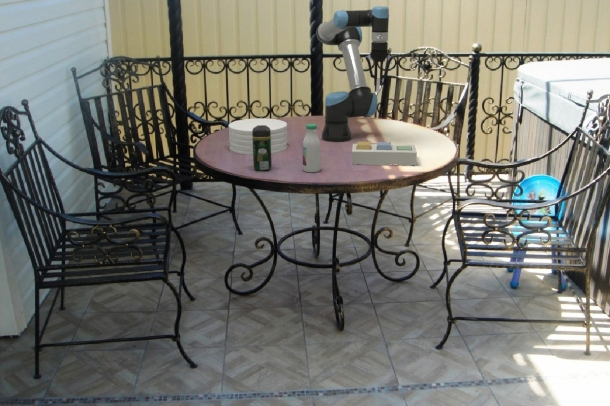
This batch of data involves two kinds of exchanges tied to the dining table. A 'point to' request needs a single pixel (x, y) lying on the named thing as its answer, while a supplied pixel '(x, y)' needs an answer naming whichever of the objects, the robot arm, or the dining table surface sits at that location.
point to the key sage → (404, 148)
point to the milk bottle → (311, 150)
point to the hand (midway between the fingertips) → (377, 92)
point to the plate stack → (243, 135)
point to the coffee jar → (261, 148)
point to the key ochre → (364, 145)
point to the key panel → (384, 156)
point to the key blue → (383, 145)
